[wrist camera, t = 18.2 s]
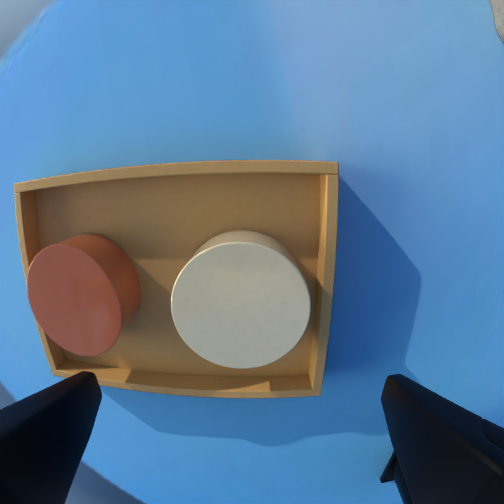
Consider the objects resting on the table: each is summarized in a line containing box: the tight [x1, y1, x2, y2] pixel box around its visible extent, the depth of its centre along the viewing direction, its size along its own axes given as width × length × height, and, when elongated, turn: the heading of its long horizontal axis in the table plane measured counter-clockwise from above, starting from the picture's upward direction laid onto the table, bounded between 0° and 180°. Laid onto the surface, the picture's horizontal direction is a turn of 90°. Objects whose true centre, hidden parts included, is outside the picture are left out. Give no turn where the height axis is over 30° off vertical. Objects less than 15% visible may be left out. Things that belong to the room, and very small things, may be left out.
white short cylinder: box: [171, 230, 311, 369], centre depth 15 cm, size 6×6×3 cm
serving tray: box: [14, 160, 339, 398], centre depth 16 cm, size 13×18×2 cm
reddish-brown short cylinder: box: [27, 233, 141, 356], centre depth 15 cm, size 6×6×3 cm
